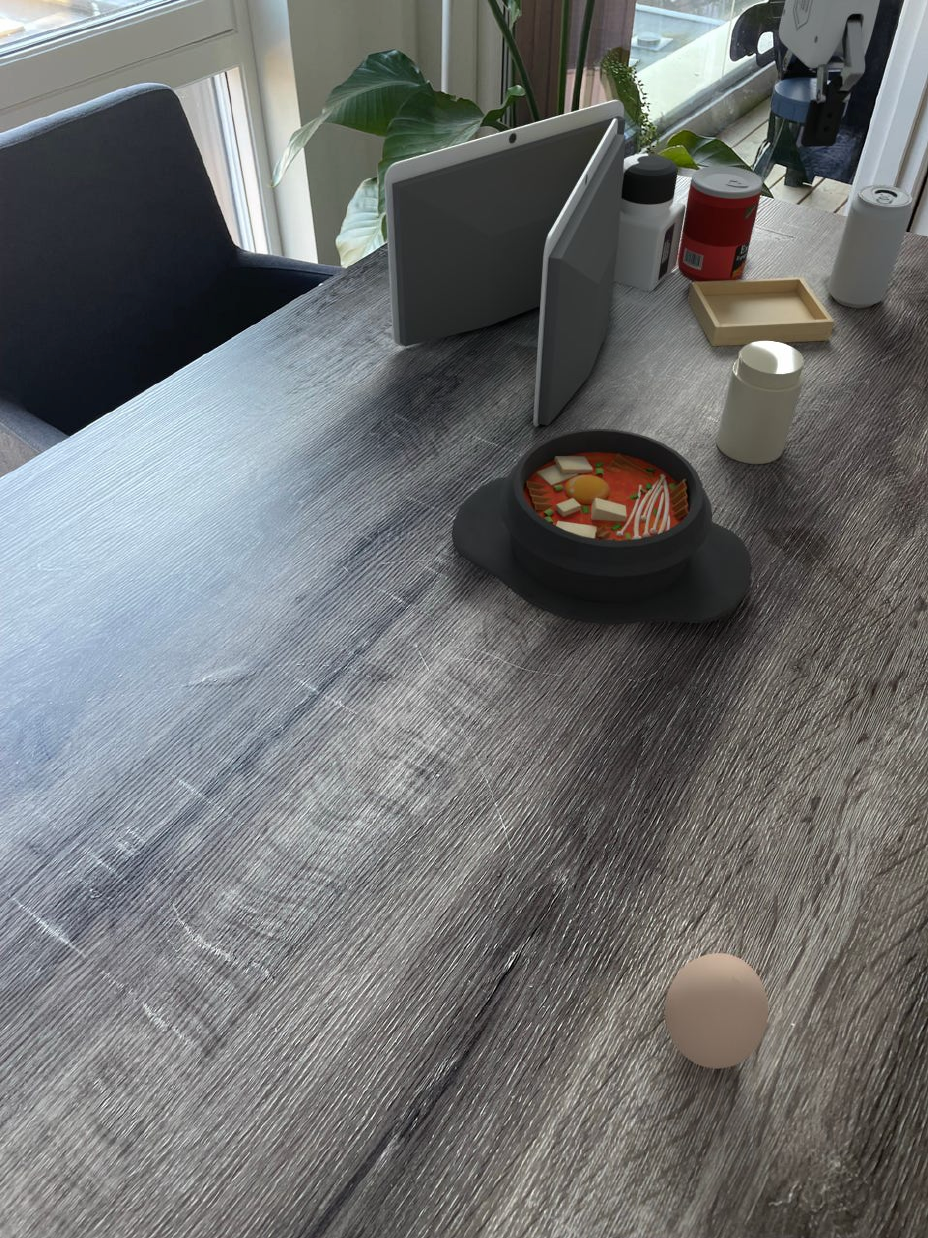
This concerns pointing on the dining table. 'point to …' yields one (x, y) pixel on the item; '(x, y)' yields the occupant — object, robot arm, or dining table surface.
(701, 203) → the canned food
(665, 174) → the container
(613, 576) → the casserole
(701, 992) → the egg
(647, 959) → the dining table surface
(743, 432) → the jar
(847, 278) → the beverage can
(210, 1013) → the dining table surface
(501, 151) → the grey hinged panel
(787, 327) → the tray
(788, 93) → the lid
